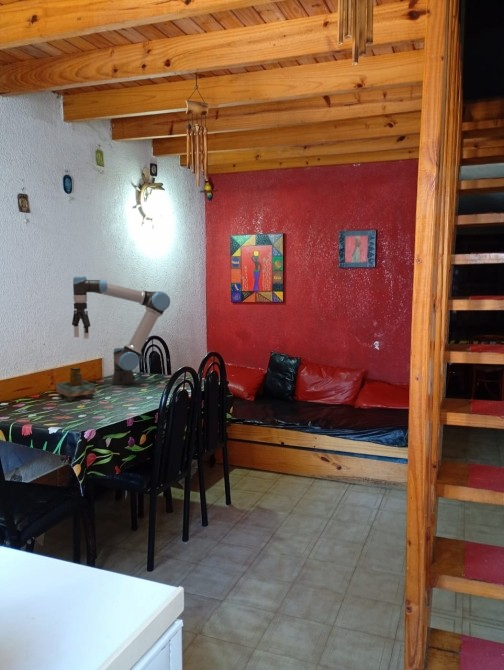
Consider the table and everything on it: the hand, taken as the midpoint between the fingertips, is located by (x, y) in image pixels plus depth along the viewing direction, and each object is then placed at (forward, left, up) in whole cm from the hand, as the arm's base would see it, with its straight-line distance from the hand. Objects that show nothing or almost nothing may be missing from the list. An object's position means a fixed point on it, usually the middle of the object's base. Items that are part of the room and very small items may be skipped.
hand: (81, 337), depth 319 cm
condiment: (+13, +21, -27) cm, 37 cm away
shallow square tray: (+13, +20, -32) cm, 40 cm away
